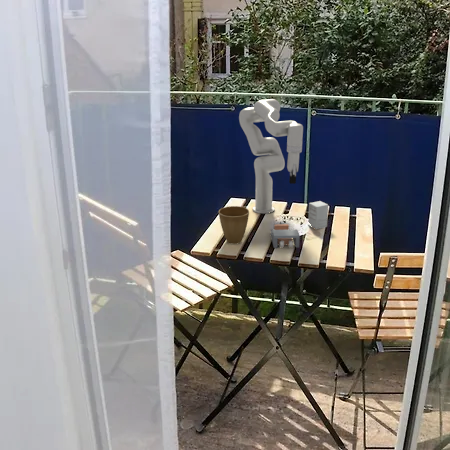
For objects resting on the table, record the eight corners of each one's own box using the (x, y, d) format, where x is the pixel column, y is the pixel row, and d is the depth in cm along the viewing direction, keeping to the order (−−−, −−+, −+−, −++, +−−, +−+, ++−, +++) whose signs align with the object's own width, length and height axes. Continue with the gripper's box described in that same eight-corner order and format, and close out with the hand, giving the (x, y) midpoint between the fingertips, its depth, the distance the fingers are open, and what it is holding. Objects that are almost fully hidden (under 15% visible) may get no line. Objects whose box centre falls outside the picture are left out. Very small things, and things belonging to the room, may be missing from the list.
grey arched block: (274, 236, 285) (274, 224, 283) (287, 236, 286) (288, 224, 283) (277, 245, 274) (278, 233, 272) (292, 245, 274) (292, 232, 272)
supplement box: (319, 222, 302) (320, 200, 298) (327, 227, 296) (328, 204, 291) (307, 225, 299) (308, 202, 295) (315, 229, 293) (317, 206, 288)
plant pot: (221, 235, 287) (221, 205, 281) (250, 236, 284) (251, 206, 278) (216, 246, 273) (216, 215, 267) (246, 248, 270) (247, 217, 265)
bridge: (270, 234, 287) (270, 222, 285) (293, 233, 288) (294, 222, 285) (273, 247, 271) (274, 235, 268) (299, 247, 271) (299, 235, 269)
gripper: (285, 144, 290) (284, 178, 297) (288, 152, 277) (286, 187, 284) (300, 144, 290) (298, 178, 297) (303, 152, 277) (301, 187, 283)
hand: (292, 183), depth 290 cm, fingers closed
